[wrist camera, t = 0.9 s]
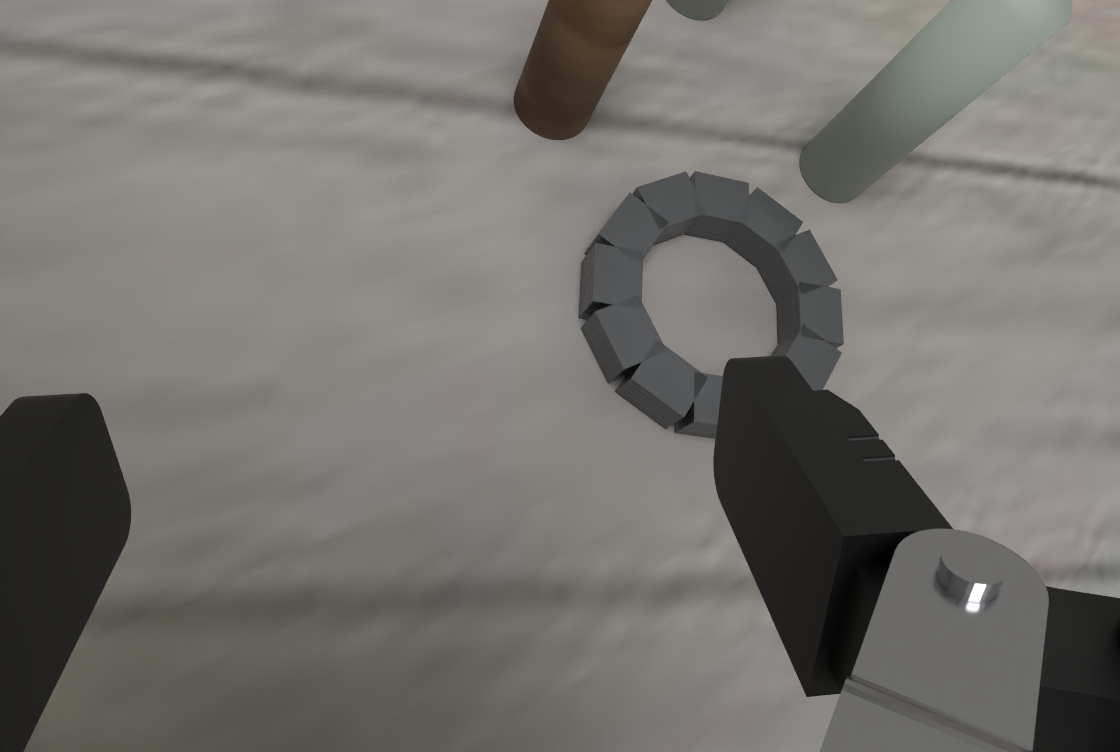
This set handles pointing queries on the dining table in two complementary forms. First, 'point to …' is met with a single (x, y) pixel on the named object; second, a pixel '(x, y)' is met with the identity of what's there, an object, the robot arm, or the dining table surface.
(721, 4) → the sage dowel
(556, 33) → the walnut dowel
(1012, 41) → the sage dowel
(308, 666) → the dining table surface
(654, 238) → the ring
